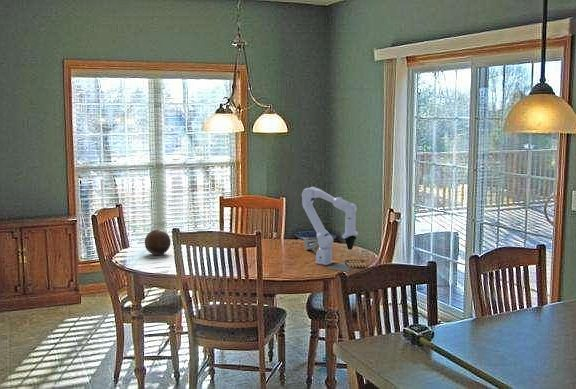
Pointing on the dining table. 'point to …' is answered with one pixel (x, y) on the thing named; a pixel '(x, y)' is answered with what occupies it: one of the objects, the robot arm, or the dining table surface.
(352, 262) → the ammunition clip
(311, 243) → the gun
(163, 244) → the wooden sphere
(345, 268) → the mat
